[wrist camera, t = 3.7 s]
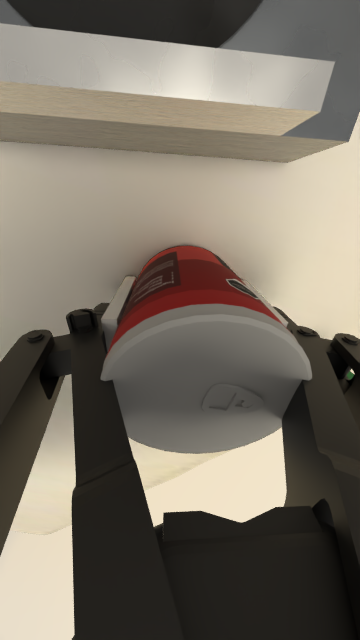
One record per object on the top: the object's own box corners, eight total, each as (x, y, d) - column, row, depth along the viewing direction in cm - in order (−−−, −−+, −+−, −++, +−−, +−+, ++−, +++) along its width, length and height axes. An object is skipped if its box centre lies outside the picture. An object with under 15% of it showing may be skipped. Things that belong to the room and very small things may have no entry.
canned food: (227, 326, 19) (285, 450, 9) (143, 330, 19) (116, 461, 9) (237, 241, 15) (355, 308, 6) (131, 244, 15) (65, 318, 5)
